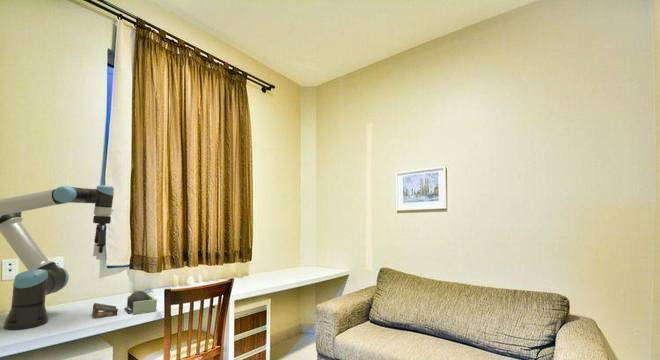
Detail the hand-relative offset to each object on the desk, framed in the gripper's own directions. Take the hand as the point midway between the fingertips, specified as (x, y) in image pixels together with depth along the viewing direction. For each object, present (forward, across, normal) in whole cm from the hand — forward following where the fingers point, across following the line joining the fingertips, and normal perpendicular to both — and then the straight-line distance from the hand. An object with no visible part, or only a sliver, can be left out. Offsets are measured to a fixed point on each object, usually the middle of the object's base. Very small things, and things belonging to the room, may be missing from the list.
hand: (97, 257), depth 177 cm
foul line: (+28, -3, -16) cm, 32 cm away
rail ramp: (+28, -3, -6) cm, 29 cm away
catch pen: (+28, -3, -22) cm, 35 cm away
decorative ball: (+18, -3, -20) cm, 27 cm away
